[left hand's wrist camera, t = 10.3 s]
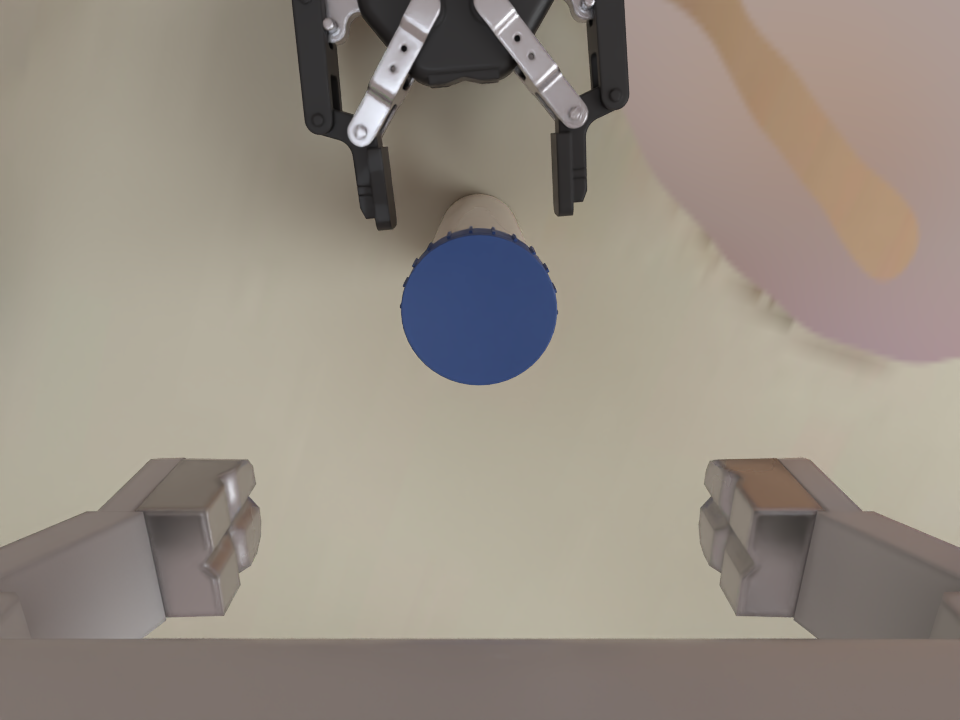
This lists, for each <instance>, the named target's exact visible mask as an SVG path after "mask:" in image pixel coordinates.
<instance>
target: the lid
mask: <svg viewBox="0 0 960 720" xmlns="http://www.w3.org/2000/svg"><path fill="white" fill-rule="evenodd" d="M412 267H414V268H413V270H412V272H411V274H410V276H409V277H407V278H406V280H405V282H404V284H403V287H405V288H404V292H403V296H402V302H401V305H400V308H401V316H402V324H403V329H404V332H405V335H406V337H407V340H408V342H409V344H410V345H411V347H412V349H413V351H414V352H415V353H416V355H417V356H418V357H419V358H420V359H421V361H422V362H423V363H424V364H425V365H427V366H428V367H429V368H430V369H432V370H433V371H434V372H436V373H438V374H439V375H441V376H443V377H445V378H447V379H449V380H452V381H455V382H458V383H463V384H468V385H490V384H495V383H500V382H503V381H506V380H509V379H511V378H513V377H516V376H517V375H519V374H521V373H522V372H524V371H525V370H527V369H528V368H529V367H531V366H532V365H533V364H534V363H535V362H536V361H537V360H538V359H539V358H540V356H541V355H542V354H543V352H544V351H545V349H546V348H547V346H548V344H549V342H550V340H551V338H552V335H553V333H554V329H555V325H556V319H557V314H558V310H557V301H556V294H555V293H557V291H556V288H555V286H554V284H553V283H552V282H551V280H550V278H549V275H548V272H549V270H548V268H547V266H546V264H545V263H544V264H542V262H541V261H540V259H539V258H538V256H537V255H536V252H535V250H534V248H533V247H532V246H531V247H530V248H529V247H528V246H527V245H526V244H525V243H523V242H522V241H520V240H519V239H517V237H516V235H515V234H513V235H510V234H507V233H504V232H502V231H498V230H495V227H492V228H491V229H487V228H473V226H469V229H465V230H460V231H457V232H454V233H451V231H450V232H448V234H447V236H445V237H443V238H441V239H439V240H438V241H436V242H435V243H432V242H431V243H430V244H429V246H428V248H427V250H426V251H425V252H424V253H423V254H422V255H421V257H420V258H419V259H418V258H416V259H415V261H414V263H413V265H412Z"/></svg>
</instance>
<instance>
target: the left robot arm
mask: <svg viewBox="0 0 960 720" xmlns="http://www.w3.org/2000/svg"><path fill="white" fill-rule="evenodd" d="M255 485H256V481H255V475H254V470H253V466H252V464H251V463H250V462H249V460H246V459H192V458H189V459H186V458H158V459H151V460H150V461H148V462H147V463H146V464H145V465H144V466H143V467H142V468H141V469H140V470H139V471H138V472H137V473H136V474H135V475H134V476H133V477H132V478H131V479H130V480H129V481H128V482H127V483H126V484H125V485H124V486H123V487H122V488H121V489H120V490H119V491H118V492H117V493H116V494H115V495H114V496H112V497H111V498H110V499H109V500H108V501H107V502H106V503H105V504H104V505H103V506H102V507H101V508H100V509H99V510H98V511H91V512H84V513H82V514H80V515H77V516H75V517H72V518H70V519H68V520H65V521H63V522H60V523H58V524H56V525H53V526H51V527H49V528H46V529H44V530H41V531H39V532H37V533H34V534H32V535H29V536H27V537H25V538H22V539H20V540H17V541H15V542H13V543H10V544H8V545H5V546H3V547H1V548H0V720H960V548H959V547H957V546H954V545H952V544H950V543H947V542H945V541H942V540H940V539H938V538H935V537H933V536H930V535H928V534H926V533H923V532H921V531H919V530H916V529H914V528H911V527H909V526H907V525H904V524H902V523H899V522H897V521H895V520H892V519H890V518H888V517H885V516H883V515H880V514H878V513H876V512H869V511H862V510H861V509H860V508H859V507H858V506H857V505H856V504H855V503H854V502H853V501H852V500H851V499H850V498H849V497H848V496H847V495H846V494H845V493H844V492H842V491H841V490H840V489H839V488H838V487H837V486H836V485H835V484H834V483H833V482H832V481H831V480H830V479H829V478H828V477H827V476H826V475H825V474H824V473H823V472H822V471H821V470H820V469H819V468H818V467H817V466H816V465H815V464H814V463H813V462H812V461H811V460H808V459H805V458H782V459H777V458H768V459H726V460H713V461H710V462H709V464H708V467H707V469H706V474H705V480H704V485H705V487H706V488H707V490H708V491H709V493H710V495H711V497H710V498H709V499H708V500H707V501H706V503H705V504H704V505H703V506H702V507H701V508H700V518H699V535H700V544H701V547H702V551H703V554H704V556H705V558H706V560H707V562H708V564H709V566H711V567H712V568H714V569H715V570H717V571H719V572H720V573H721V578H720V587H721V589H722V590H723V592H724V594H725V596H726V598H727V600H728V601H729V603H730V605H731V607H732V609H733V611H734V613H735V614H736V616H763V617H794V620H795V621H796V622H797V623H798V624H800V625H801V626H802V627H804V628H805V629H806V630H807V631H809V632H810V633H811V634H813V635H814V636H815V637H817V638H818V639H142V638H144V637H145V636H146V635H148V634H149V633H150V632H151V631H153V630H154V629H155V628H157V627H158V626H159V625H161V624H162V623H163V622H164V621H166V617H196V616H224V615H225V613H226V611H227V609H228V607H229V605H230V603H231V602H232V600H233V598H234V596H235V594H236V592H237V590H238V589H239V587H240V578H239V573H240V572H241V571H243V570H245V569H246V568H248V567H249V566H251V564H252V562H253V560H254V558H255V556H256V554H257V551H258V546H259V542H260V537H261V516H260V508H259V507H258V506H257V505H256V504H255V503H254V501H253V500H252V499H251V498H250V497H249V495H250V493H251V491H252V490H253V488H254V487H255Z"/></svg>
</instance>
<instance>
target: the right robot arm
mask: <svg viewBox="0 0 960 720" xmlns="http://www.w3.org/2000/svg"><path fill="white" fill-rule="evenodd" d="M553 1H554V0H292V7H293V17H294V26H295V35H296V44H297V53H298V63H299V72H300V81H301V90H302V100H303V109H304V118H305V124H306V126H307V128H308V129H309V130H310V131H311V132H312V133H314V134H317V135H323V136H327V137H330V138H334V139H337V140H340V141H342V142H344V143H345V144H347V145H348V146H349V148H350V149H351V151H352V154H353V160H354V167H355V174H356V181H357V188H358V195H359V202H360V209H361V210H362V212H363V214H364V216H365V218H366V219H370V218H375V220H376V226H377V229H378V231H379V230H391V229H394V228H395V226H396V224H397V219H396V210H395V202H394V194H393V186H392V178H391V170H390V162H389V154H388V147H383V146H382V137H383V135H384V133H385V131H386V129H387V128H388V126H389V124H390V122H391V120H392V119H393V117H394V115H395V113H396V111H397V110H398V108H399V107H400V106H401V104H402V103H403V101H404V100H405V98H406V96H407V94H408V92H409V90H410V89H411V87H412V85H413V83H414V81H415V80H416V81H418V82H419V83H421V84H423V85H426V86H430V87H431V88H440V87H449V86H451V85H454V84H456V83H459V82H462V81H470V82H475V83H480V84H485V83H497V82H498V81H499V80H501V79H503V78H505V77H507V76H508V75H509V74H510V73H511V72H512V71H514V72H515V74H516V75H517V76H518V77H519V79H520V80H521V81H522V83H523V84H524V85H525V86H526V88H527V89H528V90H529V91H530V92H531V93H532V94H533V95H534V96H535V97H536V98H537V100H538V101H539V102H540V103H541V105H542V106H543V107H544V108H545V110H546V111H547V112H548V113H549V115H550V116H551V117H552V118H553V120H554V121H555V133H551V154H552V179H553V204H554V212H555V214H556V215H557V216H558V217H559V216H571V215H573V210H574V206H573V202H583V200H584V197H585V194H586V192H587V169H586V132H587V129H588V127H589V125H590V124H591V123H592V122H593V121H594V120H596V119H597V118H599V117H602V116H604V115H606V114H608V113H610V112H612V111H614V110H618V109H620V108H622V107H623V106H625V104H626V103H627V101H628V98H629V80H628V62H627V44H626V26H625V9H624V0H564V1H565V2H566V3H567V4H568V6H569V8H570V12H571V15H572V17H573V19H574V20H576V21H577V22H579V23H586V25H587V38H588V51H589V65H590V78H591V90H590V91H588V92H586V93H584V94H582V95H580V96H579V95H578V94H577V93H576V92H575V90H574V89H573V88H572V86H571V85H570V84H569V82H568V81H567V80H566V79H565V77H564V76H563V75H562V73H561V71H560V69H559V67H558V66H557V64H556V63H555V61H554V60H553V59H552V58H551V56H550V55H549V54H548V52H547V51H546V50H545V48H544V47H543V46H542V45H541V43H540V42H539V41H538V39H537V38H536V37H535V36H534V35H535V33H536V31H537V29H538V28H539V26H540V24H541V22H542V21H543V19H544V17H545V15H546V14H547V12H548V10H549V8H550V6H551V5H552V3H553ZM359 16H362V17H363V18H364V19H365V21H366V22H367V23H368V24H369V26H370V27H371V28H372V29H373V31H374V32H375V33H376V34H377V36H378V37H379V38H380V39H381V40H382V42H383V43H384V44H385V45H386V47H387V49H386V51H385V53H384V55H383V57H382V59H381V61H380V63H379V64H378V66H377V68H376V70H375V72H374V74H373V76H372V78H371V80H370V82H369V85H368V89H367V91H366V93H365V95H364V97H363V99H362V101H361V103H360V105H359V107H358V109H357V110H356V112H355V114H350V113H347V112H343V111H342V102H341V91H340V79H339V68H338V57H337V45H341V44H343V43H345V42H346V41H347V39H348V37H349V34H350V26H351V23H352V21H353V20H354V19H355V18H357V17H359Z"/></svg>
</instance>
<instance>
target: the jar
mask: <svg viewBox="0 0 960 720" xmlns="http://www.w3.org/2000/svg"><path fill="white" fill-rule="evenodd" d="M469 226H473V228H487V229H491V228H492V227H495V230H498V231H502V232H504V233H507V234H510V235H513V234H515V235H516V237H517V239H519V240H520V241H522V242H523V243H525V244H526V241H525V239H524V237H523V234H522V232H521V230H520V227H519V225H518V223H517V220H516V218H515V216H514V214H513V213H512V211H511V210H510V208H509V207H508V206H507V205H506V204H505V203H504V202H502V201H501V200H499V199H497V198H495V197H493V196H490V195H485V194H473V195H468V196H465V197H463V198H461V199H459V200H458V201H456V202H455V203H454V204H452V205H451V206H450V208H449V209H448V210H447V211H446V213H445V215H444V217H443V219H442V221H441V223H440V226H439V228H438V230H437V233H436V235H435V237H434V240H433V242H432V243H435V242H436V241H438V240H439V239H441V238H443V237H445V236H447V234H448V232H450V231H451V233H454V232H457V231H460V230H465V229H469ZM526 245H527V244H526Z"/></svg>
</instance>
